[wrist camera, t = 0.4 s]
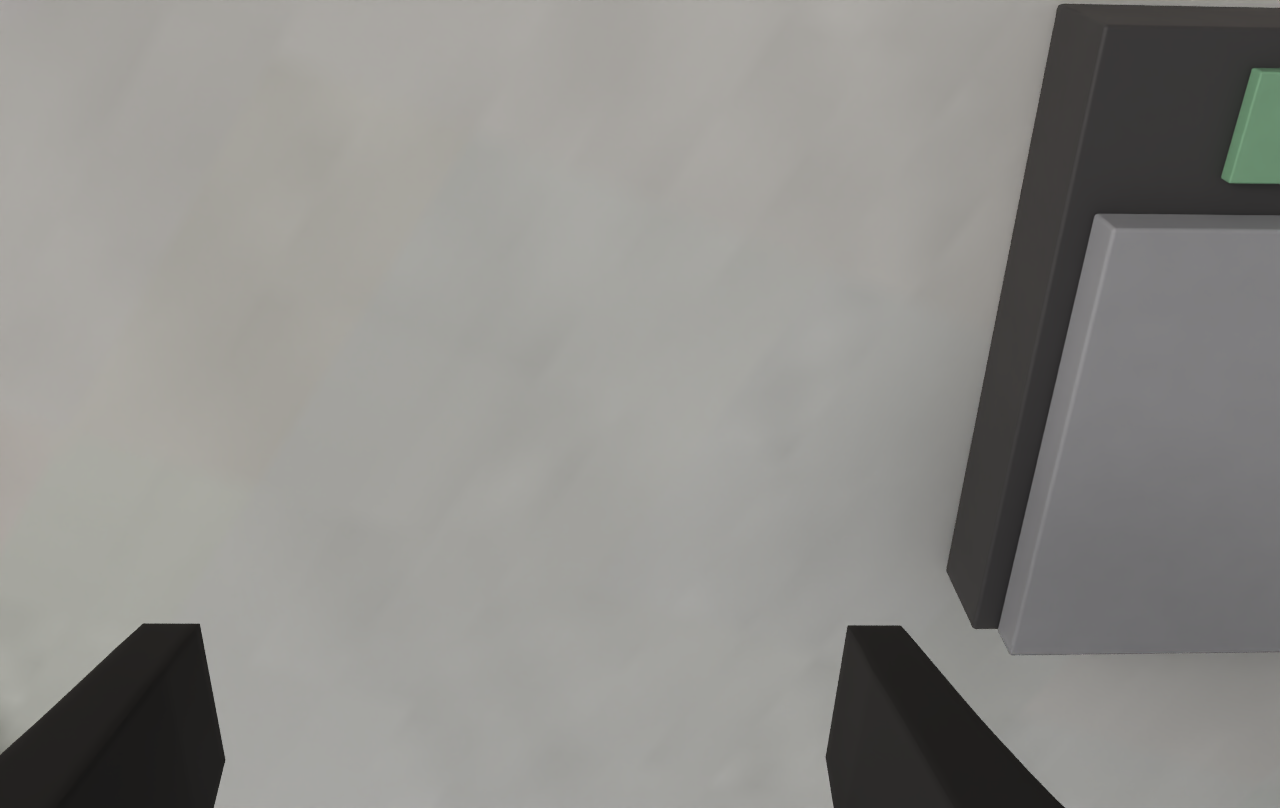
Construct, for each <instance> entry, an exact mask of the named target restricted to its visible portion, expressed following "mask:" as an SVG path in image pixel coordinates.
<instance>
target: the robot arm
mask: <svg viewBox="0 0 1280 808" xmlns="http://www.w3.org/2000/svg"><path fill="white" fill-rule="evenodd" d="M826 762H827V768H828V774H829V781H830V787H831V793H832V800H833V806H834V808H1065V807H1064V806H1062V805H1061V804H1060V803H1059V802H1058V801H1057V800H1056V799H1055V798H1054V797H1053V796H1052V795H1051V794H1050V793H1049V792H1048V791H1047V790H1046V789H1045V787H1044V786H1043V785H1042V784H1041V783H1040V782H1039V781H1038V780H1037V779H1036V778H1035V777H1034V776H1033V775H1032V774H1031V773H1030V772H1029V771H1028V770H1027V769H1026V768H1025V767H1024V766H1023V764H1022V763H1021V762H1020V761H1019V760H1018V759H1017V758H1016V757H1015V756H1014V755H1013V754H1012V753H1011V751H1010V750H1009V749H1008V748H1007V747H1006V746H1005V745H1004V744H1003V743H1002V742H1001V741H1000V740H999V738H998V737H997V736H996V735H995V734H994V733H993V732H992V731H991V730H990V729H989V728H988V726H987V725H986V724H985V723H984V722H983V721H982V720H981V719H980V717H979V716H978V715H977V714H976V713H975V712H974V711H973V709H972V708H971V707H970V706H969V705H968V704H967V702H966V701H965V700H964V699H963V698H962V697H961V695H960V694H959V693H958V692H957V691H956V690H955V689H954V687H953V686H952V685H951V684H950V683H949V681H948V680H947V679H946V678H945V677H944V676H943V674H942V673H941V672H940V671H939V670H938V668H937V667H936V666H935V665H934V664H933V662H932V661H931V660H930V659H929V658H928V657H927V655H926V654H925V653H924V652H923V651H922V649H921V648H920V647H919V646H918V645H917V643H916V642H915V641H914V640H913V639H912V638H911V636H910V635H909V634H908V633H907V632H906V631H905V630H904V629H903V628H902V627H901V626H848V627H847V633H846V639H845V645H844V651H843V657H842V663H841V669H840V675H839V681H838V687H837V693H836V699H835V705H834V711H833V717H832V723H831V729H830V735H829V741H828V747H827V753H826ZM224 763H225V756H224V750H223V745H222V740H221V734H220V729H219V724H218V718H217V713H216V708H215V702H214V697H213V692H212V687H211V681H210V676H209V671H208V665H207V660H206V655H205V649H204V644H203V639H202V633H201V628H200V624H142V625H141V626H140V627H139V628H138V629H137V630H136V631H134V632H133V633H132V634H131V635H130V636H129V637H128V638H127V639H126V640H124V641H123V642H122V643H121V644H120V645H119V646H118V647H117V648H116V649H115V650H113V651H112V652H111V653H110V654H109V655H108V656H107V657H106V658H105V659H104V660H103V661H102V662H101V663H100V664H98V665H97V666H96V667H95V668H94V669H93V670H92V671H91V672H90V673H89V674H88V675H87V676H86V677H85V678H84V679H83V680H81V681H80V682H79V683H78V684H77V685H76V686H75V687H74V688H73V689H72V690H71V691H70V692H69V693H68V694H67V695H65V696H64V697H63V698H62V699H61V700H60V701H59V702H58V703H57V704H56V705H55V706H54V707H53V708H52V709H50V710H49V711H48V712H47V713H46V714H45V715H44V716H43V717H42V718H41V719H40V720H38V721H37V722H36V723H35V724H34V725H33V726H32V727H31V728H30V729H28V730H27V731H26V732H25V733H24V734H23V735H22V736H21V737H20V738H18V739H17V740H16V741H15V742H14V743H13V744H12V745H11V746H10V747H8V748H7V749H6V750H5V751H4V752H3V753H2V754H1V755H0V808H214V804H215V800H216V796H217V792H218V788H219V784H220V779H221V775H222V771H223V767H224Z"/></svg>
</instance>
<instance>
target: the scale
mask: <svg viewBox="0 0 1280 808" xmlns="http://www.w3.org/2000/svg"><path fill="white" fill-rule="evenodd" d="M946 571H947V573H948V575H949V578H950V580H951V582H952V584H953V586H954V588H955V590H956V593H957V595H958V597H959V599H960V601H961V603H962V605H963V608H964V610H965V612H966V614H967V616H968V618H969V620H970V623H971V625H972V627H973V628H975V629H998V631H999V633H1000V635H1001V638H1002V640H1003V642H1004V644H1005V646H1006V648H1007V650H1008V652H1009V654H1011V655H1067V654H1152V653H1237V652H1280V8H1249V7H1197V6H1144V5H1092V4H1061V5H1059V6H1058V8H1057V13H1056V18H1055V23H1054V28H1053V33H1052V38H1051V43H1050V48H1049V53H1048V58H1047V63H1046V68H1045V73H1044V79H1043V84H1042V89H1041V94H1040V99H1039V104H1038V109H1037V114H1036V119H1035V124H1034V129H1033V134H1032V139H1031V144H1030V149H1029V154H1028V159H1027V165H1026V170H1025V175H1024V180H1023V185H1022V190H1021V195H1020V200H1019V205H1018V210H1017V215H1016V220H1015V225H1014V230H1013V235H1012V240H1011V246H1010V251H1009V256H1008V261H1007V266H1006V271H1005V276H1004V281H1003V286H1002V291H1001V296H1000V301H999V306H998V311H997V316H996V321H995V327H994V332H993V337H992V342H991V347H990V352H989V357H988V362H987V367H986V372H985V377H984V382H983V387H982V392H981V397H980V402H979V408H978V413H977V418H976V423H975V428H974V433H973V438H972V443H971V448H970V453H969V458H968V463H967V468H966V473H965V478H964V483H963V489H962V494H961V499H960V504H959V509H958V514H957V519H956V524H955V529H954V534H953V539H952V544H951V549H950V554H949V559H948V564H947V569H946Z"/></svg>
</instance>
